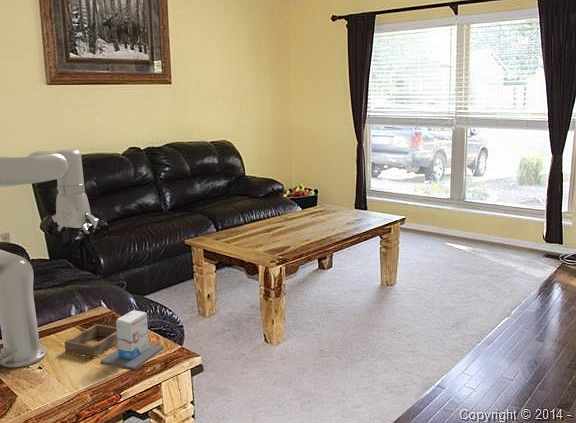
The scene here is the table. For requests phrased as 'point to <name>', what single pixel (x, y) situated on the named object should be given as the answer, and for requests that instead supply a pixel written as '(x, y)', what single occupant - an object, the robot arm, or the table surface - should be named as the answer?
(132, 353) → the ink box
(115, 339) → the frame
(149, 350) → the rubber mat
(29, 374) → the table surface
